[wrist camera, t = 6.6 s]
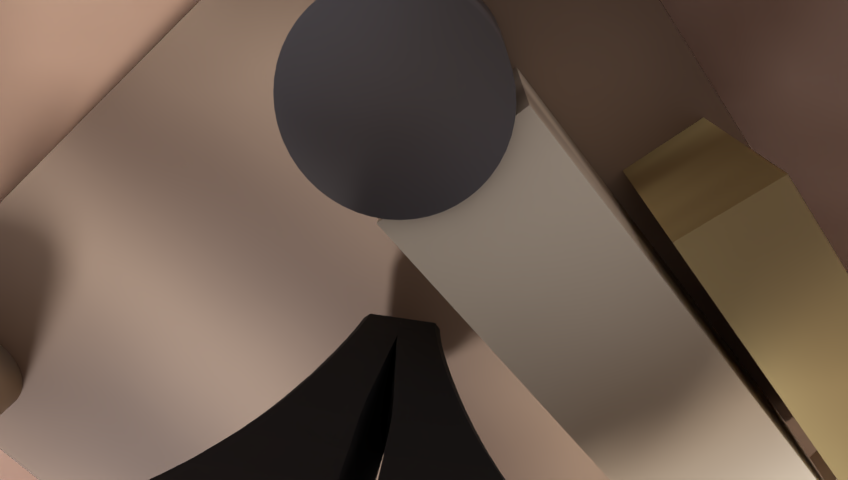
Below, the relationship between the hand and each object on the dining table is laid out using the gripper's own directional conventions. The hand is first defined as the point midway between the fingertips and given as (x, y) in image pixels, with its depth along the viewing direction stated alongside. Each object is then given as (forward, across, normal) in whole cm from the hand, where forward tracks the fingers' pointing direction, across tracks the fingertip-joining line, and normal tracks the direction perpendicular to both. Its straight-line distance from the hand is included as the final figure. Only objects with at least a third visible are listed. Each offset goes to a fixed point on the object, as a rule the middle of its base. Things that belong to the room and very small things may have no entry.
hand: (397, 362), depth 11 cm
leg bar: (+1, -3, -2) cm, 4 cm away
